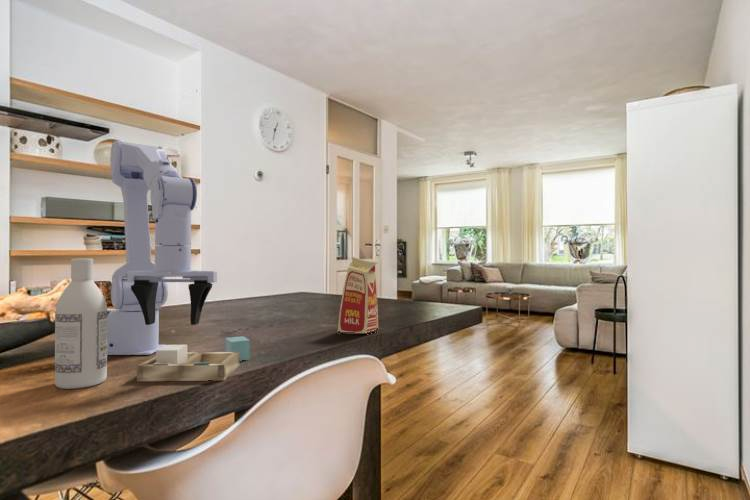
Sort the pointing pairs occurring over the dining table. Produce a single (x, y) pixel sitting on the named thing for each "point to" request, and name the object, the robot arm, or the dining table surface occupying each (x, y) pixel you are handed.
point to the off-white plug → (172, 354)
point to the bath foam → (81, 330)
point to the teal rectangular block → (239, 347)
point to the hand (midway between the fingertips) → (172, 324)
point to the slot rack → (191, 368)
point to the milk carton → (359, 298)
